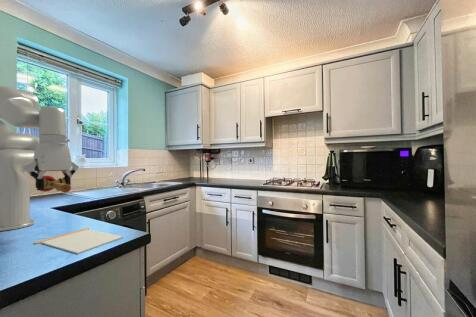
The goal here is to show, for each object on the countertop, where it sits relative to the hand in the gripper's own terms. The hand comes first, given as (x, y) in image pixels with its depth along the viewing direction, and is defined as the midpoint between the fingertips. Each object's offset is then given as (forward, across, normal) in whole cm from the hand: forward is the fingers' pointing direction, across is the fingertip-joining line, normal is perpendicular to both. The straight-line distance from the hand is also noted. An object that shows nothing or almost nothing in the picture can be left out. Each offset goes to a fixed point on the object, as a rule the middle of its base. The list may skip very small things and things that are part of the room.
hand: (54, 188), depth 79 cm
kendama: (+1, 0, 0) cm, 1 cm away
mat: (+17, 0, +17) cm, 24 cm away
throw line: (+17, 0, +6) cm, 18 cm away
